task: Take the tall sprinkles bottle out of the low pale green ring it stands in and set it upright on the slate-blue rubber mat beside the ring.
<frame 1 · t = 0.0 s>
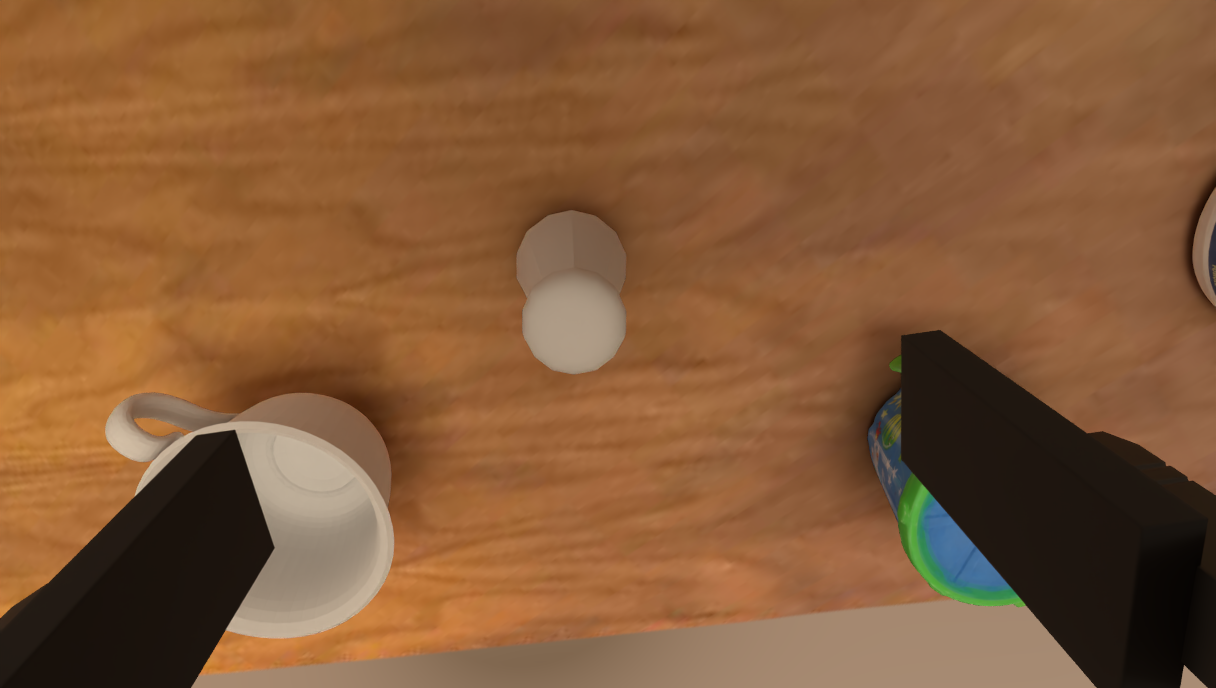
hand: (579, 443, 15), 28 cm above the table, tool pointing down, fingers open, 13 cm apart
salt shaker: (571, 254, 43), on the table
teacup: (306, 425, 45), on the table
snack cup: (922, 428, 47), on the table
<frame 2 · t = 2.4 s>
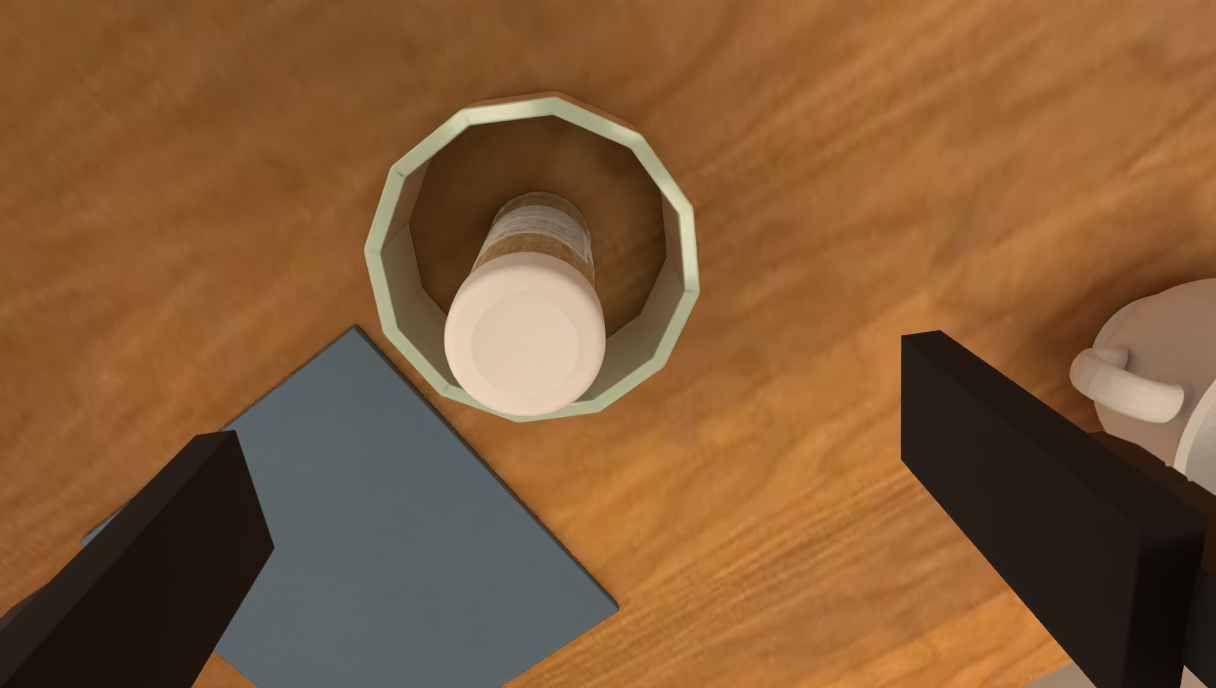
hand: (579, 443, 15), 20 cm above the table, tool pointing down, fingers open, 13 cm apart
rubber mat: (362, 571, 39), on the table
pale green ring: (540, 239, 34), on the table
sprinkles bottle: (540, 238, 34), resting in pale green ring
teacup: (1117, 342, 37), on the table
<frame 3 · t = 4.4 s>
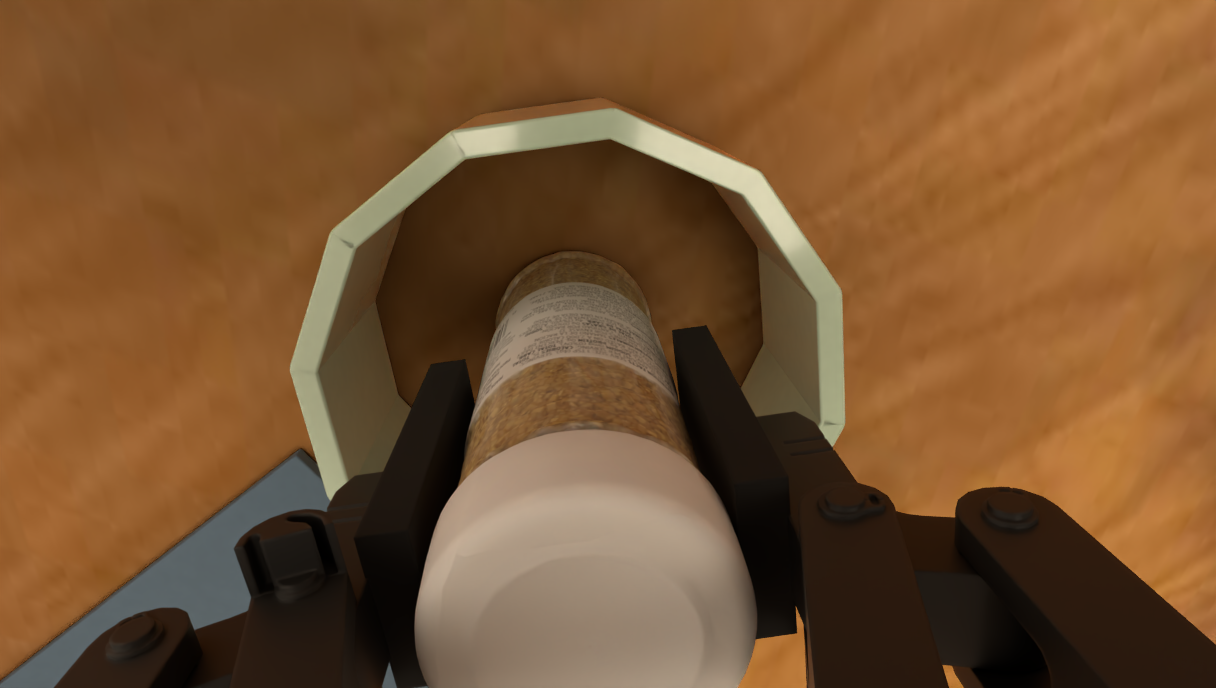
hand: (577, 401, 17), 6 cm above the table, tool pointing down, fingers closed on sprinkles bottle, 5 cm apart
pale green ring: (574, 321, 22), on the table
sprinkles bottle: (573, 319, 23), resting in pale green ring, touching gripper
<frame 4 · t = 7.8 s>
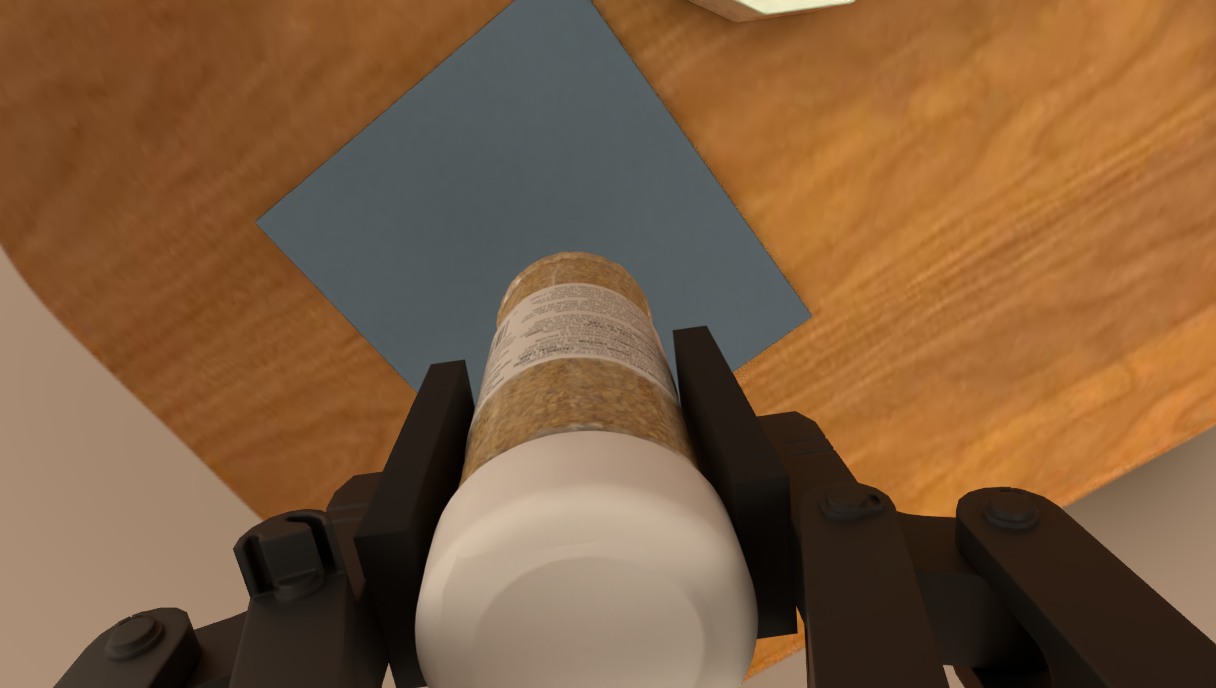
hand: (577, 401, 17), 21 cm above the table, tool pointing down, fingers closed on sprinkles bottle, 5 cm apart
rubber mat: (545, 268, 37), on the table
sprinkles bottle: (574, 319, 23), point 15 cm above the table, touching gripper
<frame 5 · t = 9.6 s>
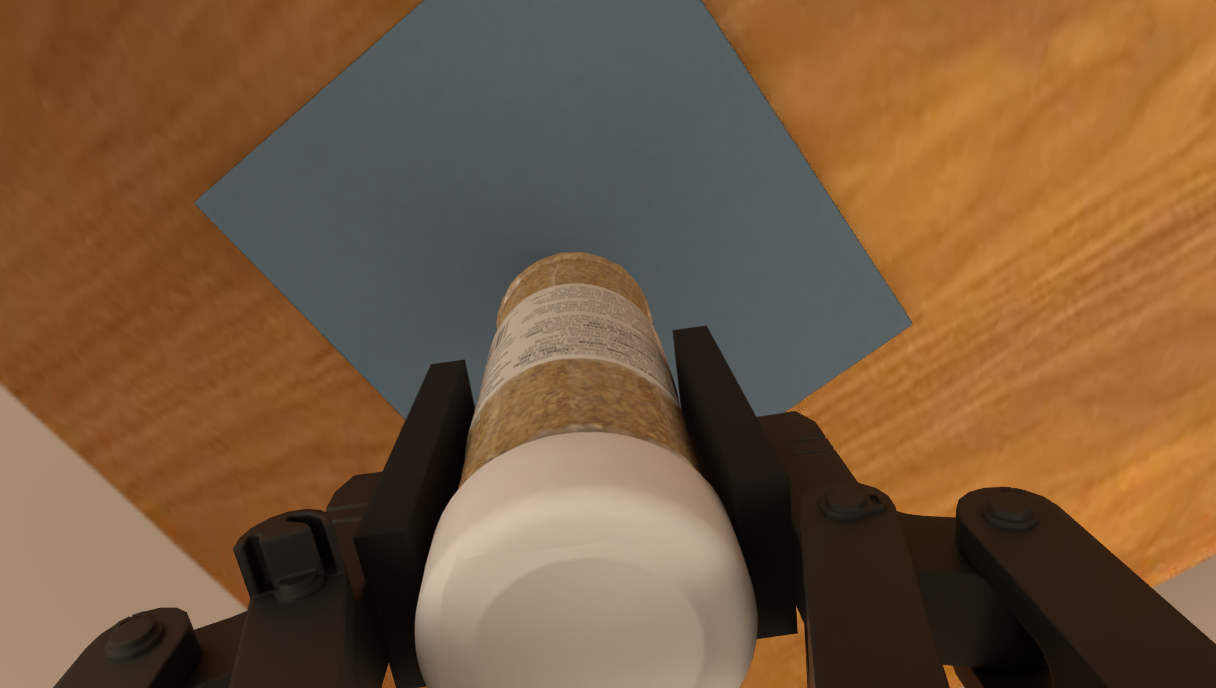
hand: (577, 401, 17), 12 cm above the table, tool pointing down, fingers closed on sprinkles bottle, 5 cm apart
rubber mat: (572, 263, 29), on the table
sprinkles bottle: (574, 320, 23), point 7 cm above the table, touching gripper
when the fingers open (6 cm above the table, at t = 11.3 s): sprinkles bottle stays where it is, resting on rubber mat.
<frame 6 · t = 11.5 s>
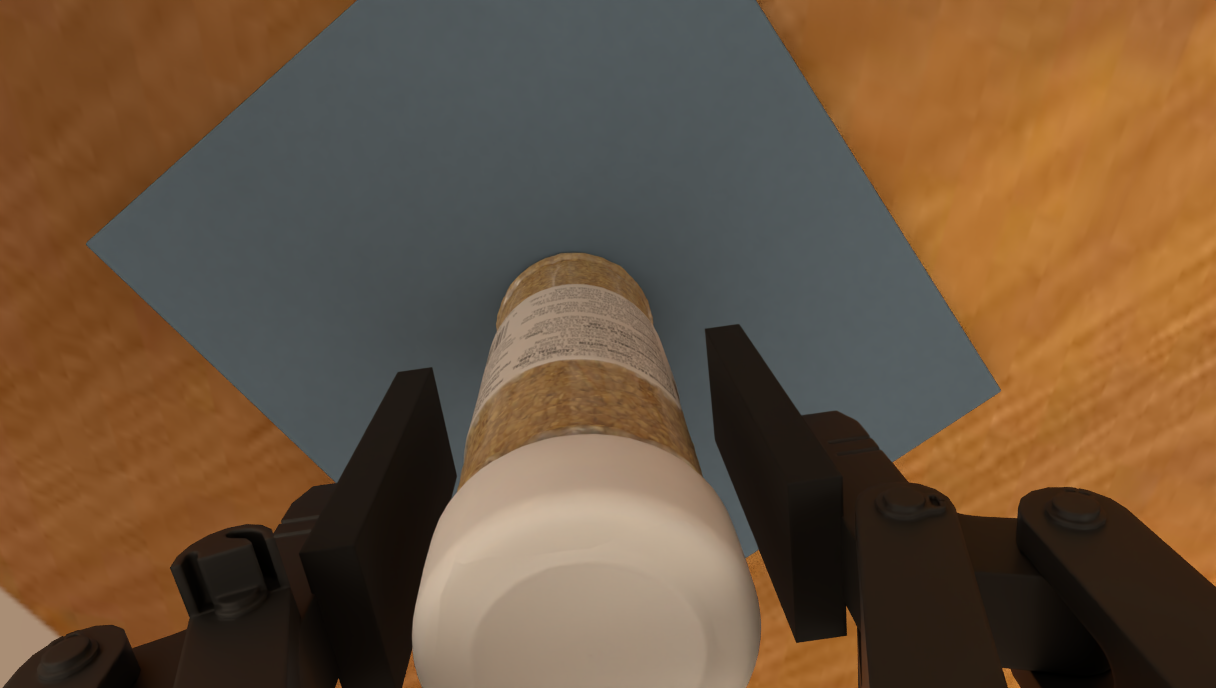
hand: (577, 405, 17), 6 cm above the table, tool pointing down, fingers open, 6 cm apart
rubber mat: (574, 317, 23), on the table
sprinkles bottle: (574, 321, 22), resting on rubber mat
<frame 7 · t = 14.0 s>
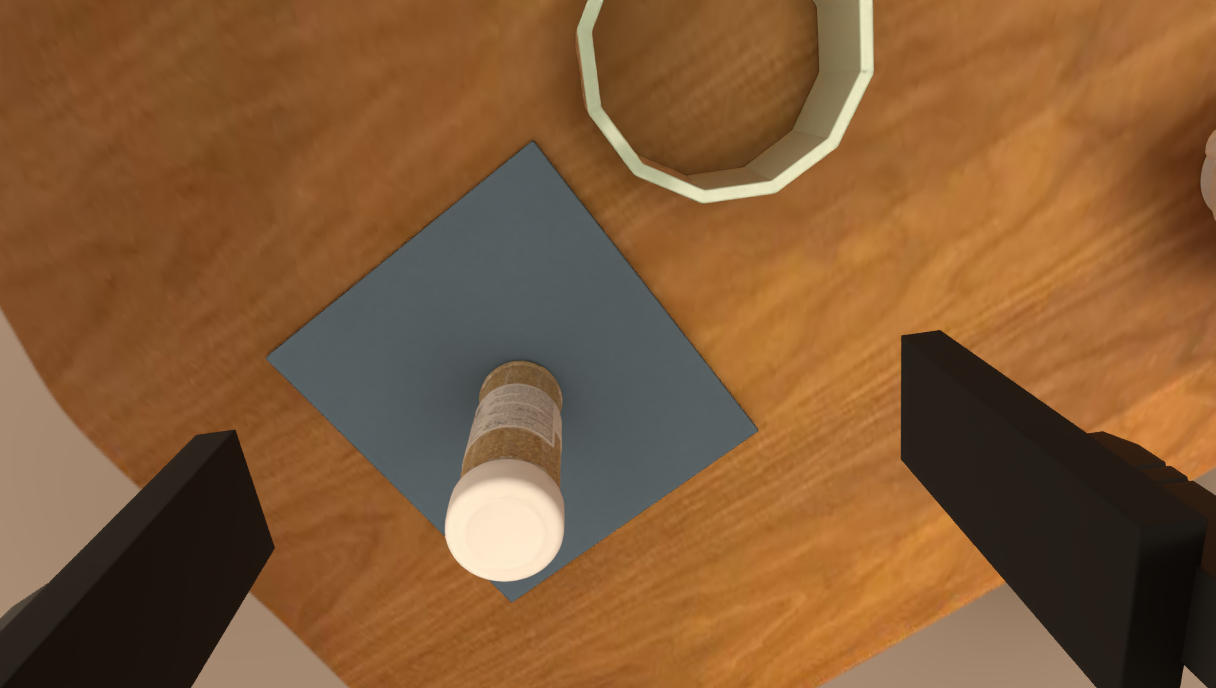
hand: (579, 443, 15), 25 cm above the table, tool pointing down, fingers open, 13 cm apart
rubber mat: (521, 392, 42), on the table
pale green ring: (704, 55, 37), on the table
sprinkles bottle: (521, 395, 42), resting on rubber mat
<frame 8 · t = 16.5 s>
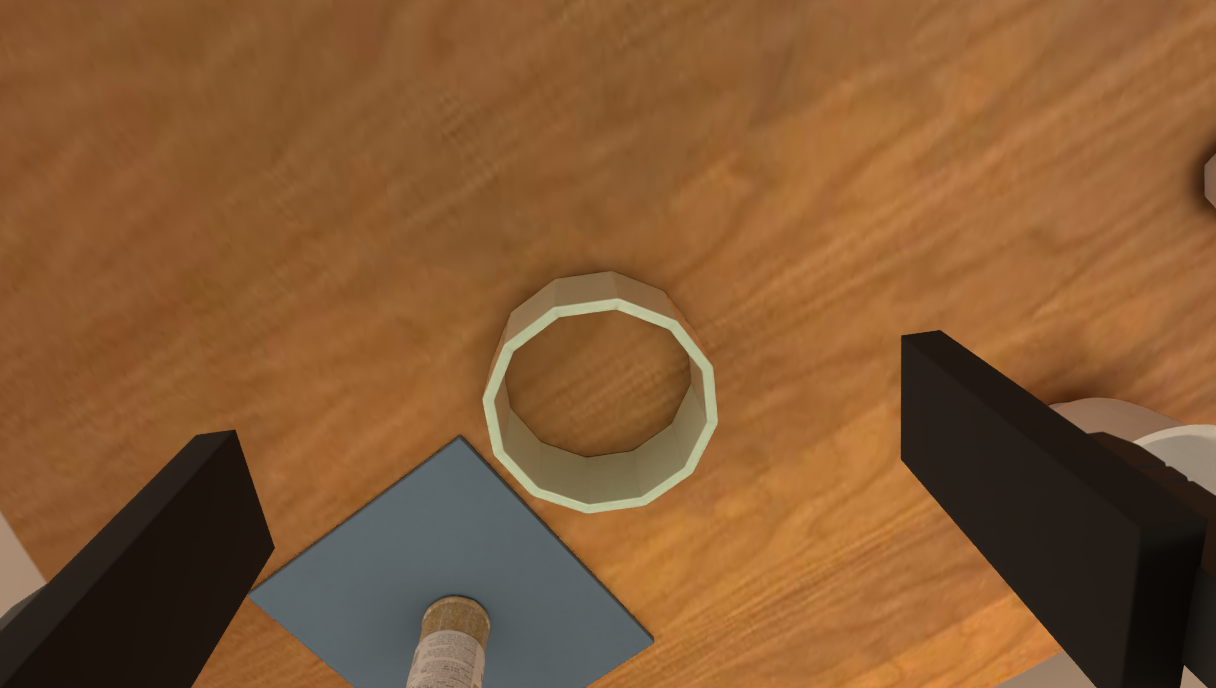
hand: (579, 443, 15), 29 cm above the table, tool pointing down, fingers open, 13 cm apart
rubber mat: (457, 615, 51), on the table
pale green ring: (597, 372, 46), on the table
sprinkles bottle: (457, 618, 51), resting on rubber mat
teacup: (1032, 437, 49), on the table
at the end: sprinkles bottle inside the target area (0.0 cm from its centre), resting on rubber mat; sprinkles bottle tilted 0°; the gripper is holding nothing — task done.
